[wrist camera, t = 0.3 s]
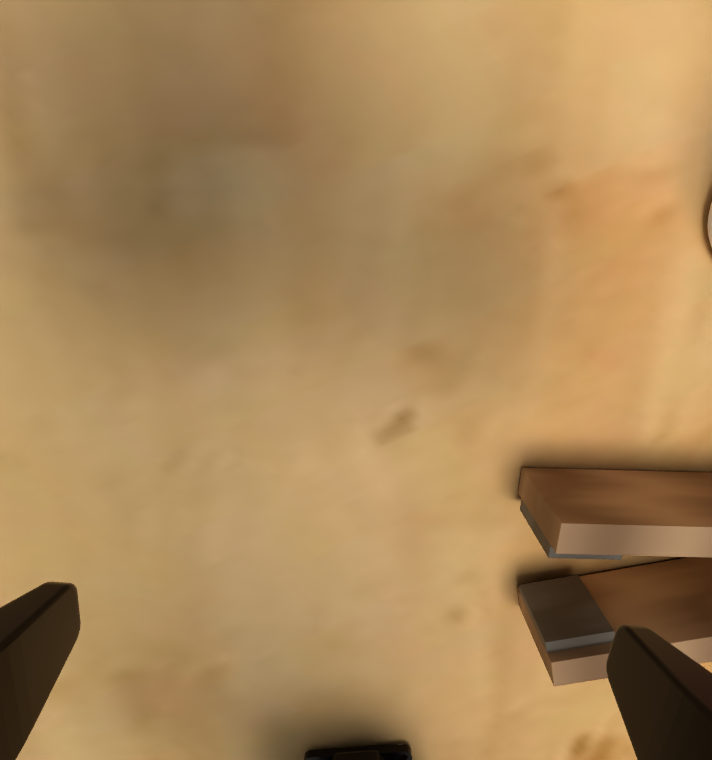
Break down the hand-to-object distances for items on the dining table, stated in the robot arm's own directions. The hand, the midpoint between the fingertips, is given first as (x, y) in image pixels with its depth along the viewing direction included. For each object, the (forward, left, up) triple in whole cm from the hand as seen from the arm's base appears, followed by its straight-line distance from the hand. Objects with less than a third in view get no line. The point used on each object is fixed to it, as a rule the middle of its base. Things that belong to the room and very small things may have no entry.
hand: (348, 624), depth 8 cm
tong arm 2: (-7, -15, -14) cm, 22 cm away
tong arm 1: (-12, -15, -14) cm, 24 cm away
